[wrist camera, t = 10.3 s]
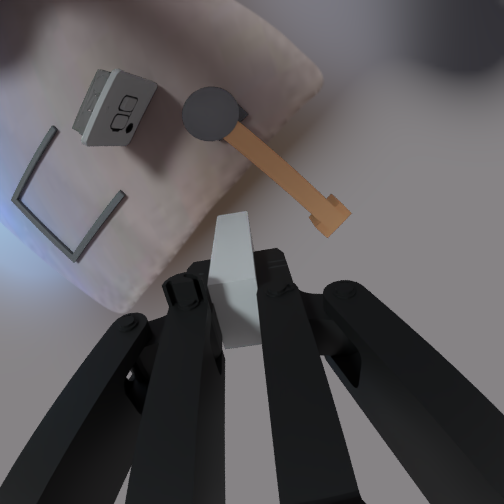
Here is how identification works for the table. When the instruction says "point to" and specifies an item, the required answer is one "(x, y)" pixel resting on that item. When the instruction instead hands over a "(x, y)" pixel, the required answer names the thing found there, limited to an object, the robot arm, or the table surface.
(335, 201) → the lever
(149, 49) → the table surface
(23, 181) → the bay
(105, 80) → the electrical switch
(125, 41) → the table surface
